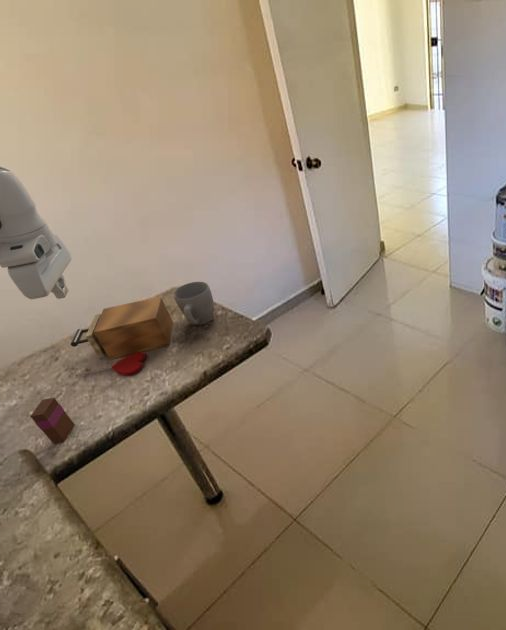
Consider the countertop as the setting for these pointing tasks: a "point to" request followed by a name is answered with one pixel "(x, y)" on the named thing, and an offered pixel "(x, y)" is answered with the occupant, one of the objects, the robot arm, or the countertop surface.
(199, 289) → the mug
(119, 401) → the countertop surface
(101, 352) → the drawer
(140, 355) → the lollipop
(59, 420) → the chocolate
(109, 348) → the cabinet
